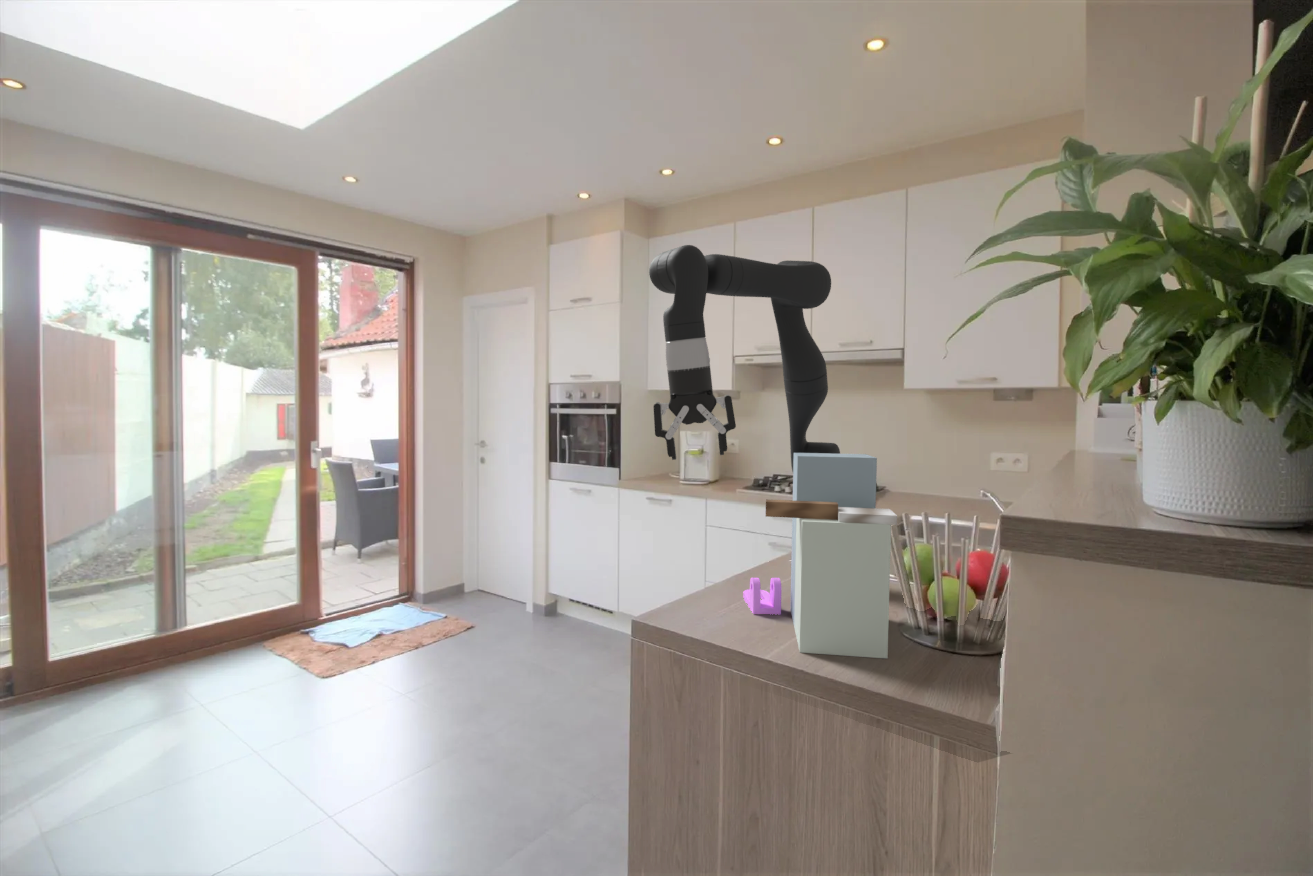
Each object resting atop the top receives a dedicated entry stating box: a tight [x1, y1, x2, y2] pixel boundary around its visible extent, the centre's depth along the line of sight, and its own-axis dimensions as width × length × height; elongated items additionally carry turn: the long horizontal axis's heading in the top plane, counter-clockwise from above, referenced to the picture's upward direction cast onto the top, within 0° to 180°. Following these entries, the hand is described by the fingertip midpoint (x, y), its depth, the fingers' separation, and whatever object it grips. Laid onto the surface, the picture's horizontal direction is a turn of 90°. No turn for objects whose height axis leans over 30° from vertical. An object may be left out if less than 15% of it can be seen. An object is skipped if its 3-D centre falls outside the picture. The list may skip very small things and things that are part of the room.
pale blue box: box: [789, 453, 892, 659], centre depth 108 cm, size 14×22×32 cm, turn 171°
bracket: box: [742, 577, 782, 616], centre depth 124 cm, size 13×6×7 cm, turn 2°
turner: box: [765, 499, 898, 526], centre depth 102 cm, size 21×7×3 cm, turn 78°
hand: (698, 456), depth 106 cm, fingers open, 8 cm apart
